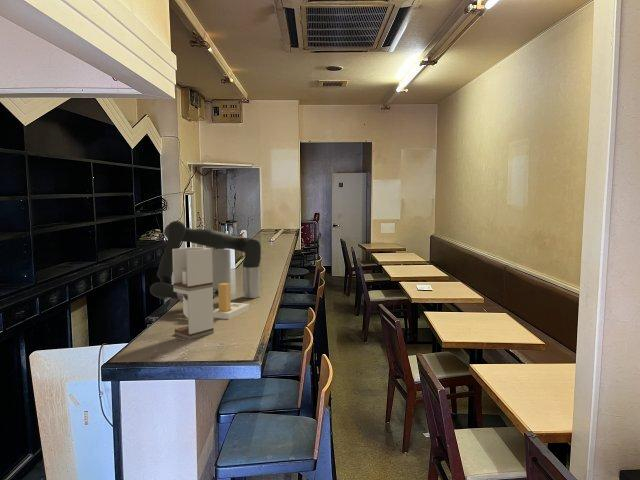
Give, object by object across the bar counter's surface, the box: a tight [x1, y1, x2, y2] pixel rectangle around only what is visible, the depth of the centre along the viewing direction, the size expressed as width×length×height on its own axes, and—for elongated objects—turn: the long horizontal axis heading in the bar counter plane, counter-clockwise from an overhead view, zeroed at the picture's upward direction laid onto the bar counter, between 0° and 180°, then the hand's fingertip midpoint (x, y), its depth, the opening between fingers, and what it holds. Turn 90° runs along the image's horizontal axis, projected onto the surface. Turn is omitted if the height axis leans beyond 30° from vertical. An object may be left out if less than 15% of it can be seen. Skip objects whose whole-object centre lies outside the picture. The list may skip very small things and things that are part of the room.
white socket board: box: [213, 302, 250, 320], centre depth 218 cm, size 20×10×3 cm, turn 162°
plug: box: [217, 283, 232, 312], centre depth 213 cm, size 4×4×15 cm
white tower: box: [172, 246, 215, 340], centre depth 185 cm, size 11×11×35 cm
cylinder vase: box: [212, 248, 232, 293], centre depth 268 cm, size 12×12×25 cm
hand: (218, 295), depth 214 cm, fingers open, 8 cm apart
